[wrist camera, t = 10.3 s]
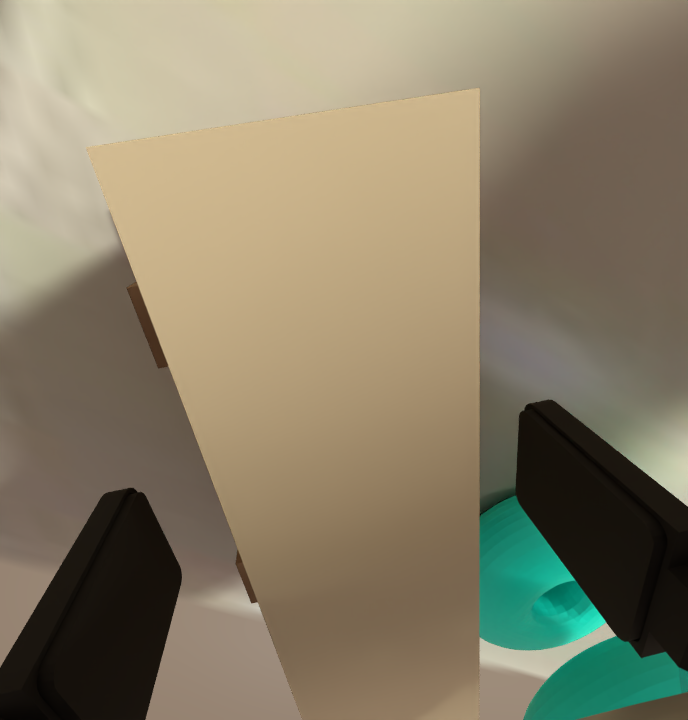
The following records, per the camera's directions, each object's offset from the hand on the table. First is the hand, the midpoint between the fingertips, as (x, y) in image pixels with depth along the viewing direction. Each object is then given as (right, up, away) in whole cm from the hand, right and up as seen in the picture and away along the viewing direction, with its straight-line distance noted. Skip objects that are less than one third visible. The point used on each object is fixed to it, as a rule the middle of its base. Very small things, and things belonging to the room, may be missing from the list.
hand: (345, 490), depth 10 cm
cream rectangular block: (0, +2, +3) cm, 4 cm away
